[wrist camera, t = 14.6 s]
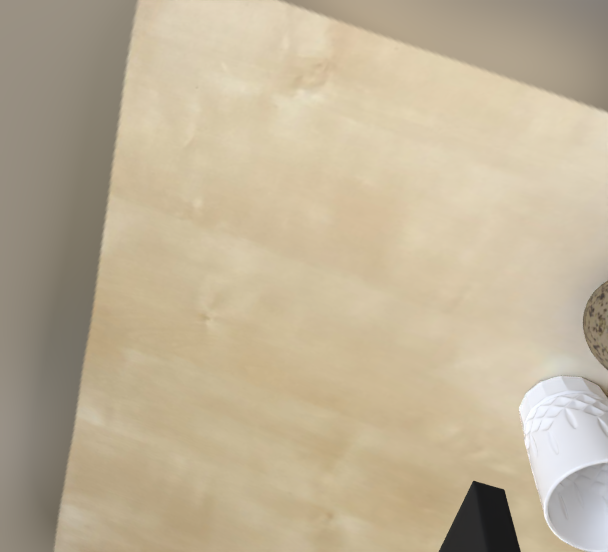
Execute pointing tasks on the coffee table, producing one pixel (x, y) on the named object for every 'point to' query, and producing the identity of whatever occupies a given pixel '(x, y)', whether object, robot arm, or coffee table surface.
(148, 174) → the coffee table surface
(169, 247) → the coffee table surface
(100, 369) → the coffee table surface
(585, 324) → the decorative egg
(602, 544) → the white cup
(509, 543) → the robot arm
